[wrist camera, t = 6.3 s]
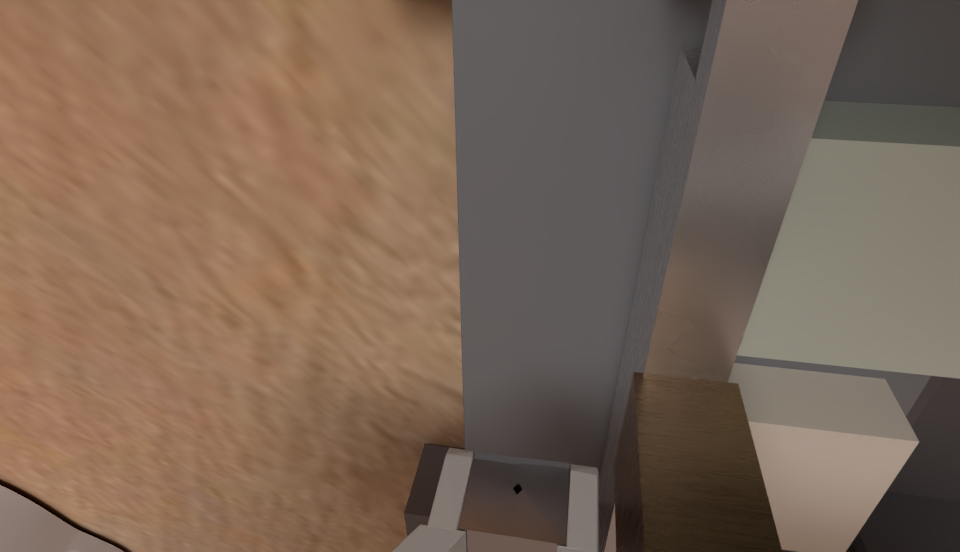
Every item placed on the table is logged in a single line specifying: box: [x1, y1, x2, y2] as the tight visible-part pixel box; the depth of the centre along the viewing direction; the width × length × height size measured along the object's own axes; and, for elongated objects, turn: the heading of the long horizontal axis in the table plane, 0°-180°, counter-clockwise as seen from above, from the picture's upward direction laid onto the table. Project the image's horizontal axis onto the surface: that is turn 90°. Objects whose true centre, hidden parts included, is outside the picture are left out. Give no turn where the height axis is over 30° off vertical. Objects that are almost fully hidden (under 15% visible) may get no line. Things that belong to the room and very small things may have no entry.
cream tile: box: [728, 363, 919, 552], centre depth 16 cm, size 5×5×2 cm
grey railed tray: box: [404, 0, 960, 552], centre depth 15 cm, size 21×17×3 cm
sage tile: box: [737, 101, 960, 379], centre depth 12 cm, size 5×5×2 cm
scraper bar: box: [599, 0, 858, 552], centre depth 12 cm, size 21×3×8 cm, turn 0°
